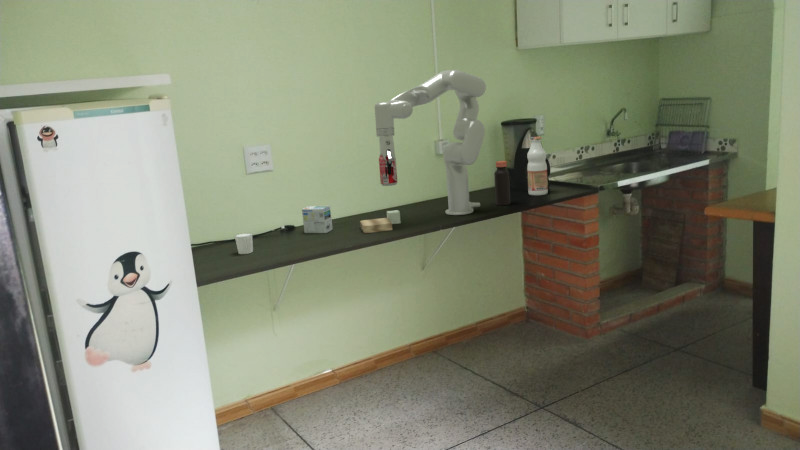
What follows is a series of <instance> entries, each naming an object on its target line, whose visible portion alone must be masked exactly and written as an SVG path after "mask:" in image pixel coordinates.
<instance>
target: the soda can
mask: <svg viewBox="0 0 800 450" xmlns="http://www.w3.org/2000/svg"><path fill="white" fill-rule="evenodd" d="M391 157H392V156H391ZM385 158H386V160H388V156H387V155H386V157H385ZM392 164H393V176H392V174H391V175H388V172H387V177H386V172H385V167H386V162H385V160H384V159H383V155H381V154H379V158H378V166H379V178H380V185H381V186H384V187H391V186H396V185H397V184H398V171H397V159H396V156H395V159H394V158H392ZM391 170H392V167H391Z"/></svg>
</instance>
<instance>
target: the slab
mask: <svg viewBox="0 0 800 450" xmlns="http://www.w3.org/2000/svg"><path fill="white" fill-rule="evenodd" d="M359 224H360V225H359V226H360V229H361V231H362V233H363V234H369V233H378V232H379V233H380V232H387V231H393V224H392V223H391V221H390V220H389V219H388V218H387V217H382V218H372V219H362V220H360V221H359Z"/></svg>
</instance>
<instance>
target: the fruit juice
mask: <svg viewBox="0 0 800 450" xmlns="http://www.w3.org/2000/svg"><path fill="white" fill-rule="evenodd" d="M530 142H531V144H530V147H529V150H528V152H527V153H526V154H527V156H526V158H527V161H528V163H527V169H526V170H527V191H528V195H530V196H544V195H547V194H548V192H549V189H548V188H549V186H548V166H547V162H546V160H547V152H546V150H545V149H544V146H543V145H542V137H541V136H530Z"/></svg>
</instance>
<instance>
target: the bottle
mask: <svg viewBox="0 0 800 450" xmlns="http://www.w3.org/2000/svg"><path fill="white" fill-rule="evenodd" d="M507 164H508V162H507V161H506V160H501V161H500V160H498V161H496V162H495V168H496V170H495V172H494V192H495V205H497V206H499V207H501V206H508V205H511V183H510V172H509V170H508V169H507V166H508V165H507Z"/></svg>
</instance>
